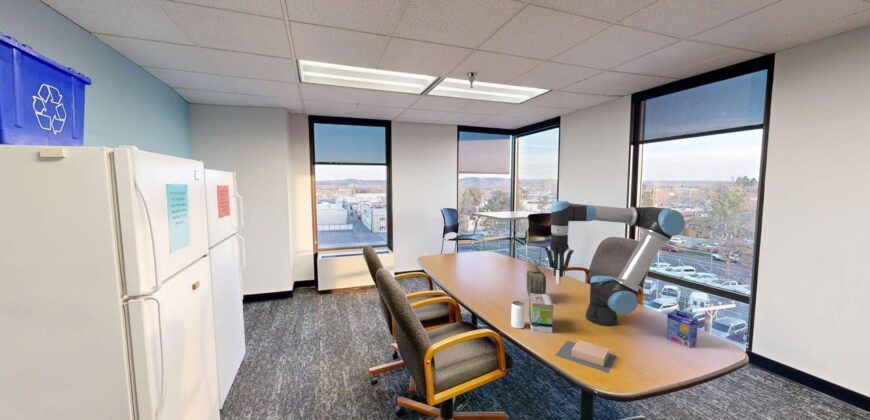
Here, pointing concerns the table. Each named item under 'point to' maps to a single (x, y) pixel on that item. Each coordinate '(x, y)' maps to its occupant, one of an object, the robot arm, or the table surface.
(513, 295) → the table surface
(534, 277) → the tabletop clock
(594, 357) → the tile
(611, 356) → the mat
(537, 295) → the tea box
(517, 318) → the can
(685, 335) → the ink cartridge box
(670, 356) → the table surface
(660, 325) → the table surface
